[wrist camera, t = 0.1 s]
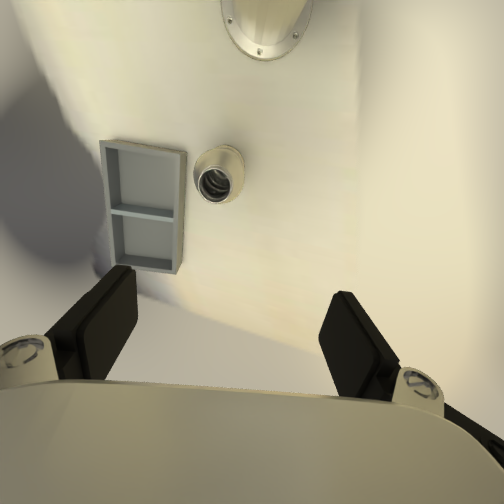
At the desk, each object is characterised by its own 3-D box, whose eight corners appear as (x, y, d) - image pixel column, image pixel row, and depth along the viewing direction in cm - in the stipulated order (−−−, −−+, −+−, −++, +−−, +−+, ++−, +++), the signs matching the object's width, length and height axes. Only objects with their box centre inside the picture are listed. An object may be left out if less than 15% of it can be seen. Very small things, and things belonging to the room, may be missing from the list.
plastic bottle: (210, 184, 44) (187, 218, 26) (206, 144, 41) (179, 151, 23) (244, 184, 45) (246, 217, 27) (244, 144, 42) (245, 150, 24)
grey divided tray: (115, 139, 41) (99, 140, 36) (187, 152, 42) (180, 154, 37) (123, 254, 50) (111, 266, 45) (182, 262, 51) (176, 274, 47)
